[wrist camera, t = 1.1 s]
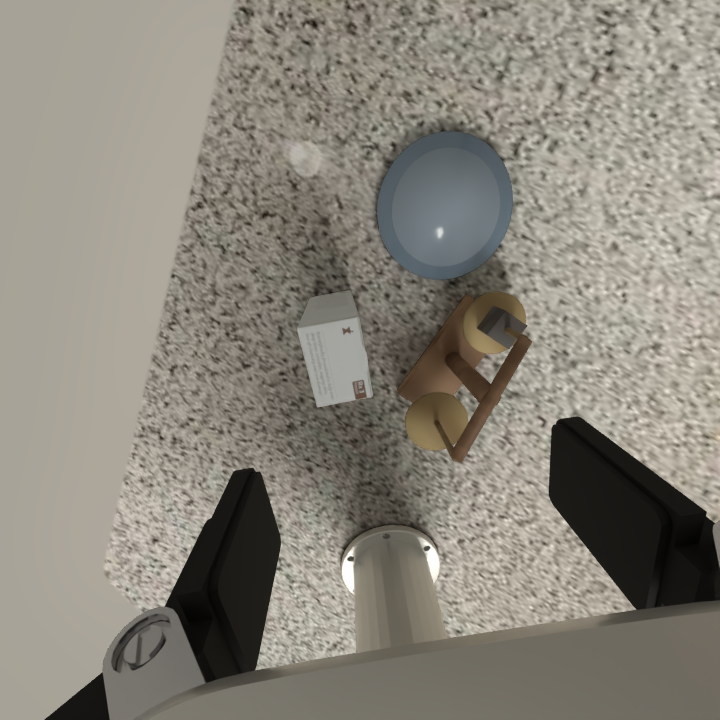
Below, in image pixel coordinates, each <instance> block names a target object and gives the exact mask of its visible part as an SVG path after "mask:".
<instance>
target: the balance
mask: <svg viewBox="0 0 720 720" xmlns="http://www.w3.org/2000/svg"><path fill="white" fill-rule="evenodd" d="M526 327H527V325H526V314H525V310H524V308H523V306H522V304H521V303H520V301H519V300H518V299H516V298H515V297H514V296H512V295H510V294H507V293H503V292H490V293H486V294H484V295H481V296H480V297H478V298H477V299H474V298H473V297H471V296H470V295H467V294H466V295H465V296H464V297H463V299H462V300H461V302H460V303H459V304H458V306H457V307H456V309H455V310H454V311H453V313H452V314H451V316H450V317H449V318H448V320H447V321H446V322H445V324H444V325H443V327H442V328H441V329H440V331H439V332H438V334H437V335H436V336H435V338H434V339H433V341H432V342H431V343H430V345H429V346H428V348H427V349H426V350H425V352H424V353H423V354H422V356H421V357H420V359H419V360H418V361H417V363H416V364H415V366H414V367H413V368H412V370H411V371H410V373H409V374H408V375H407V377H406V378H405V380H404V381H403V382H402V384H401V385H400V386H399V388H398V389H397V391H398V393H399V395H401V396H402V397H404V398H406V399H408V400H409V401H411V402H413V403H412V405H411V406H410V407H409V409H408V411H407V413H406V417H405V427H406V431H407V434H408V436H409V438H410V439H411V440H412V442H413V443H415V444H416V445H417V446H419V447H421V448H423V449H427V450H442V449H445V448H447V450H448V452H449V454H450V456H451V458H452V460H453V461H459V462H461V463H462V461H463V459H464V458H465V456H466V454H467V453H468V451H469V449H470V447H471V446H472V444H473V442H474V441H475V439H476V437H477V436H478V434H479V432H480V430H481V429H482V427H483V425H484V424H485V422H486V420H487V418H488V417H489V415H490V413H491V412H492V410H493V408H494V406H496V405H497V404H498V403H499V401H500V397H501V394H502V393H503V391H504V389H505V388H506V386H507V384H508V382H509V381H510V379H511V377H512V376H513V374H514V372H515V370H516V369H517V367H518V365H519V364H520V362H521V360H522V359H523V357H524V355H525V353H526V352H527V350H528V348H529V347H530V345H531V343H532V341H531V340H530V339H528V337H527V336H525V335H523V334H522V333H523V331H524V329H525V328H526ZM513 345H514V346H513ZM511 346H513V347H512V349H511V351H510V352H509V354H508V356H507V358H506V359H505V361H504V363H503V364H502V366H501V368H500V370H499V371H498V373H497V375H496V376H495V378H494V380H493V382H492V383H491V384H490V383H489V382H488V381H487V380H486V379H485V378H484V377H483V376H481V375H480V374H479V373H478V372H477V371H476V370H475V367H476V366H477V365H478V363H479V362H480V361H481V360H482V358H483V357H484V356H485V354H486V353H488V354H494V353H499V352H502V351H505V350H507V349H509V348H510V347H511ZM462 384H464V385H465V387H466V388H467V389H468V390H469V391H470V392H471V394H472V395H473V396H474V397H475V398H476V399H477V400H478V402H479V403H480V404H479V405H478V407H477V409H476V411H475V412H474V414H473V416H472V417H471V419H470V421H469V423H468V415H467V412H466V409H465V408H464V406H463V405H462V403H461V402H460V401H459V400H458V399H457V398H456V397H454V394H455V393H456V392H457V391H458V389H459V388H460V387H461V385H462ZM456 442H457V443H456ZM455 443H456V445H455V446H454V448H453V446H452V445H453V444H455Z"/></svg>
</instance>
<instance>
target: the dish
mask: <svg viewBox="0 0 720 720" xmlns="http://www.w3.org/2000/svg"><path fill="white" fill-rule="evenodd" d="M512 205H513V195H512V186H511V181H510V178H509V174H508V172H507V169H506V167H505V165H504V163H503V162H502V160H501V158H500V157H499V155H498V154H497V153H496V152H495V151H494V150H493V149H492V148H491V147H490V146H489V145H488V144H487V143H485V142H484V141H482V140H481V139H479V138H477V137H475V136H472V135H470V134H467V133H463V132H455V131H445V132H438V133H434V134H431V135H428V136H425V137H423V138H421V139H419V140H417V141H415V142H414V143H413V144H411V145H410V146H409V147H407V148H406V149H405V150H404V151H403V152H402V153H401V154H400V155H399V156H398V157H397V159H396V160H395V161H394V162H393V164H392V165H391V167H390V169H389V170H388V172H387V174H386V176H385V178H384V180H383V182H382V185H381V188H380V191H379V196H378V201H377V222H378V228H379V232H380V235H381V238H382V241H383V243H384V245H385V247H386V249H387V250H388V252H389V254H390V255H391V256H392V257H393V259H394V260H395V261H396V262H397V263H398V264H399V265H401V266H402V267H403V268H405V269H406V270H408V271H410V272H412V273H413V274H416V275H419V276H421V277H424V278H429V279H438V280H443V279H451V278H456V277H459V276H462V275H465V274H467V273H469V272H471V271H473V270H475V269H476V268H478V267H479V266H481V265H482V264H483V263H484V262H485V261H487V260H488V259H489V257H490V256H491V255H492V254H493V253H494V252H495V250H496V249H497V248H498V246H499V245H500V243H501V241H502V240H503V238H504V236H505V234H506V231H507V229H508V226H509V222H510V219H511V214H512Z"/></svg>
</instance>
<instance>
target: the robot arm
mask: <svg viewBox="0 0 720 720" xmlns="http://www.w3.org/2000/svg"><path fill="white" fill-rule="evenodd" d="M549 497H550V500H551V502H552V504H553V505H554V507H555V508H556V509H557V510H558V512H559V513H560V514H561V515H562V517H563V518H564V519H565V520H566V522H567V523H568V524H569V526H570V527H571V528H572V529H573V531H574V532H575V533H576V534H577V536H578V537H579V538H580V539H581V541H582V542H583V543H584V544H585V546H586V547H587V548H588V549H589V551H590V552H591V553H592V555H593V556H594V557H595V558H596V560H597V561H598V562H599V563H600V565H601V566H602V567H603V568H604V570H605V571H606V572H607V573H608V575H609V576H610V577H611V579H612V580H613V581H614V582H615V584H616V585H617V586H618V587H619V589H620V590H621V591H622V592H623V594H624V595H625V596H626V597H627V599H628V600H629V601H630V602H631V604H632V605H633V606H634V607H635V608H636V609H637V610H633V611H627V612H620V613H613V614H606V615H599V616H593V617H586V618H579V619H572V620H566V621H559V622H552V623H545V624H539V625H532V626H526V627H519V628H513V629H506V630H499V631H493V632H486V633H480V634H473V635H467V636H461V637H454V638H448V636H447V633H446V629H445V625H444V621H443V618H442V614H441V610H440V606H439V603H438V599H437V595H436V591H435V588H434V582H435V581H436V579H437V577H438V574H439V571H440V559H439V555H438V552H437V549H436V546H435V545H434V543H433V542H432V540H431V539H430V538H429V537H428V536H427V535H425V534H424V533H422V532H420V531H419V530H416V529H414V528H411V527H407V526H402V525H387V526H380V527H376V528H373V529H371V530H368V531H366V532H364V533H362V534H361V535H359V536H358V537H356V538H355V539H354V540H353V541H352V542H351V543H350V544H349V545H348V547H347V548H346V550H345V552H344V554H343V557H342V562H341V574H342V579H343V582H344V584H345V586H346V587H347V588H348V590H349V591H350V592H351V593H352V594H353V595H354V597H355V630H356V653H353V654H347V655H341V656H335V657H328V658H322V659H316V660H310V661H305V662H299V663H294V664H288V665H283V666H277V667H272V668H266V669H261V670H255V669H256V665H257V661H258V656H259V651H260V646H261V641H262V636H263V631H264V626H265V621H266V616H267V611H268V606H269V601H270V596H271V592H272V587H273V582H274V577H275V572H276V567H277V562H278V557H279V552H280V547H281V538H280V533H279V530H278V527H277V523H276V520H275V517H274V514H273V510H272V507H271V504H270V500H269V497H268V494H267V491H266V487H265V484H264V481H263V478H262V475H261V473H260V472H255V470H254V468H248V469H242V470H236V471H234V472H233V474H232V476H231V478H230V480H229V482H228V484H227V486H226V488H225V491H224V493H223V495H222V497H221V499H220V501H219V503H218V505H217V508H216V510H215V512H214V514H213V516H212V518H210V519H209V520H207V522H206V523H205V525H204V527H203V529H202V531H201V533H200V535H199V537H198V539H197V541H196V543H195V545H194V547H193V549H192V551H191V553H190V556H189V558H188V560H187V562H186V564H185V566H184V568H183V570H182V572H181V574H180V576H179V578H178V580H177V582H176V584H175V586H174V588H173V591H172V593H171V595H170V597H169V599H168V601H167V603H166V605H165V607H157V608H154V609H151V610H149V611H146V612H144V613H143V614H141V615H139V616H138V617H136V618H135V619H134V620H133V621H131V622H130V623H129V624H128V625H126V626H125V627H124V628H123V629H122V630H121V632H120V633H119V634H118V635H117V636H116V637H115V639H114V640H113V642H112V643H111V645H110V646H109V648H108V650H107V652H106V655H105V658H104V660H103V672H102V673H101V674H100V675H98V676H97V677H96V678H95V679H94V680H92V681H91V682H90V683H89V684H88V685H87V686H85V687H84V688H83V689H81V690H80V691H79V692H78V693H77V694H75V695H74V696H73V697H72V698H70V699H69V700H68V701H67V702H66V703H64V704H63V705H62V706H61V707H60V708H58V709H57V710H56V711H55V712H53V713H52V714H51V715H50V716H48V717H47V718H46V719H45V720H720V520H719V521H718V522H716V523H714V522H713V521H711V520H710V519H709V518H707V517H706V513H707V512H706V511H705V510H703V509H702V508H701V507H699V506H698V505H697V504H695V503H694V502H693V501H691V500H690V499H689V498H687V497H686V496H685V495H683V494H682V493H681V492H679V491H678V490H677V489H675V488H674V487H673V486H671V485H670V484H669V483H667V482H666V481H665V480H663V479H662V478H661V477H659V476H658V475H657V474H655V473H654V472H653V471H651V470H650V469H649V468H647V467H646V466H645V465H643V464H642V463H641V462H639V461H638V460H637V459H635V458H634V457H633V456H631V455H630V454H629V453H627V452H626V451H625V450H623V449H622V448H621V447H619V446H618V445H617V444H615V443H614V442H613V441H611V440H610V439H609V438H607V437H606V436H605V435H603V434H602V433H601V432H599V431H598V430H597V429H595V428H594V427H593V426H591V425H590V424H589V423H587V422H586V421H585V420H583V419H582V418H580V417H571V418H564V419H559V420H558V421H557V422H556V425H553V427H552V434H551V455H550V477H549Z"/></svg>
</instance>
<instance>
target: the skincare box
mask: <svg viewBox="0 0 720 720" xmlns="http://www.w3.org/2000/svg"><path fill="white" fill-rule="evenodd" d="M297 332H298V336H299V340H300V343H301V347H302V351H303V355H304V359H305V363H306V367H307V371H308V375H309V379H310V383H311V386H312V390H313V394H314V398H315V401H316V406H317V407H322V406H328V405H333V404H338V403H343V402H349V401H354V400H360V399H365V398H371V397H372V396H373V391H372V385H371V380H370V374H369V368H368V359H367V353H366V351H365V345H364V339H363V334H362V329H361V323H360V318H359V314H358V311H357V308H356V305H355V302H354V298H353V295H352V292H351V291H350V290H348V291H342V292H336V293H331V294H325V295H320V296H315V297H311V298H310V299H309V301H308V304H307V306H306V308H305V311H304V313H303V315H302V318H301V320H300V323H299V325H298V327H297Z"/></svg>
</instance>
